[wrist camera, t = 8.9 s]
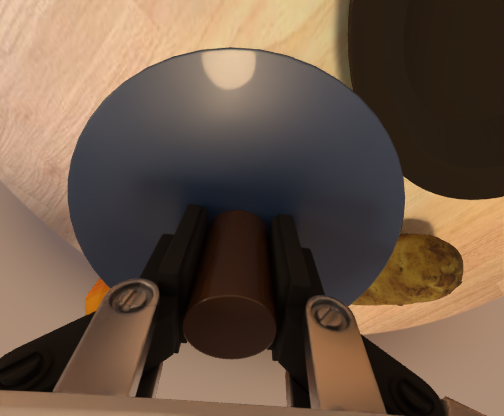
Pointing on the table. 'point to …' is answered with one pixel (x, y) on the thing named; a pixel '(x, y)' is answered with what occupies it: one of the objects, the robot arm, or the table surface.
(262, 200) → the lid
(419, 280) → the potato
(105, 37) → the table surface
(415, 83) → the plate
